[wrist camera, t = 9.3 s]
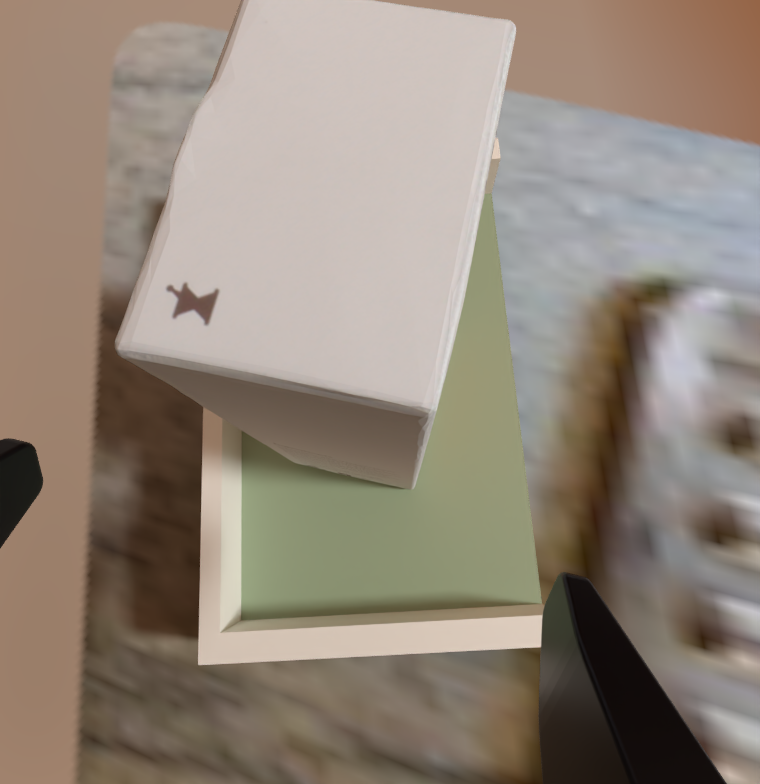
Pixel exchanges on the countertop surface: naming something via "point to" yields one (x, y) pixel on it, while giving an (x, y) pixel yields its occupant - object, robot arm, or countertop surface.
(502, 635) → the pad
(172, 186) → the skincare box
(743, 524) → the countertop surface
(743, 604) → the countertop surface
